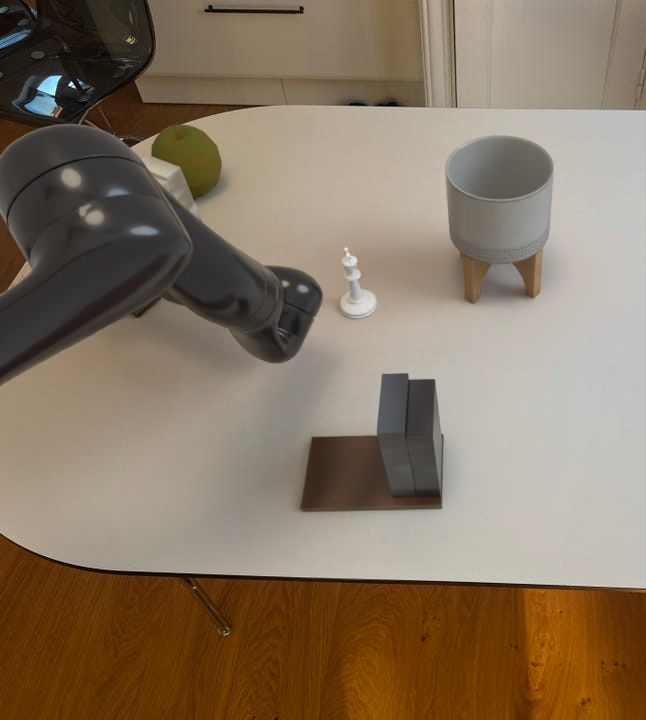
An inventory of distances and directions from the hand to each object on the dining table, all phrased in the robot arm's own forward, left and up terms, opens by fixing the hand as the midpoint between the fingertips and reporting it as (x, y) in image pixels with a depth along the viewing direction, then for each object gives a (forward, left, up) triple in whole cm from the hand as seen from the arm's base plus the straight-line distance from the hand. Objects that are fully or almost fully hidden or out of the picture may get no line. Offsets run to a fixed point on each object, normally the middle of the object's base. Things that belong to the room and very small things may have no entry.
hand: (69, 222), depth 88 cm
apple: (+17, +16, -12) cm, 26 cm away
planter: (+47, -26, -12) cm, 55 cm away
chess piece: (+28, -21, -12) cm, 37 cm away
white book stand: (+7, +1, -12) cm, 14 cm away
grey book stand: (+19, -45, -12) cm, 50 cm away
